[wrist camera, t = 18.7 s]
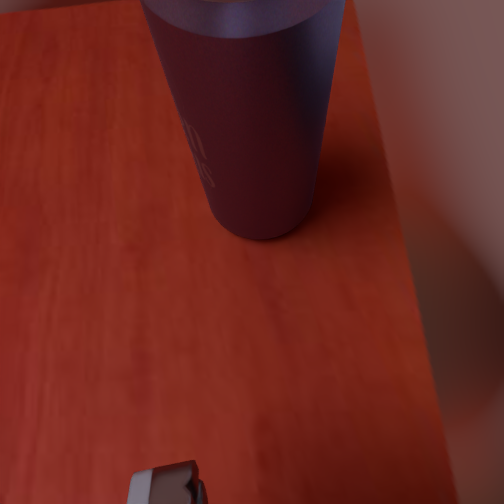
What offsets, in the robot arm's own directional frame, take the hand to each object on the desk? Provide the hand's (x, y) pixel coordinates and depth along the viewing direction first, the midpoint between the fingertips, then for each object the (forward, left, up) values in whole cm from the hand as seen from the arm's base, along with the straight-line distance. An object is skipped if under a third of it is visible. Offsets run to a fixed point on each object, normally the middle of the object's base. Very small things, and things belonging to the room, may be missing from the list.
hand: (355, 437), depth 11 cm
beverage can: (-1, -12, -10) cm, 16 cm away
